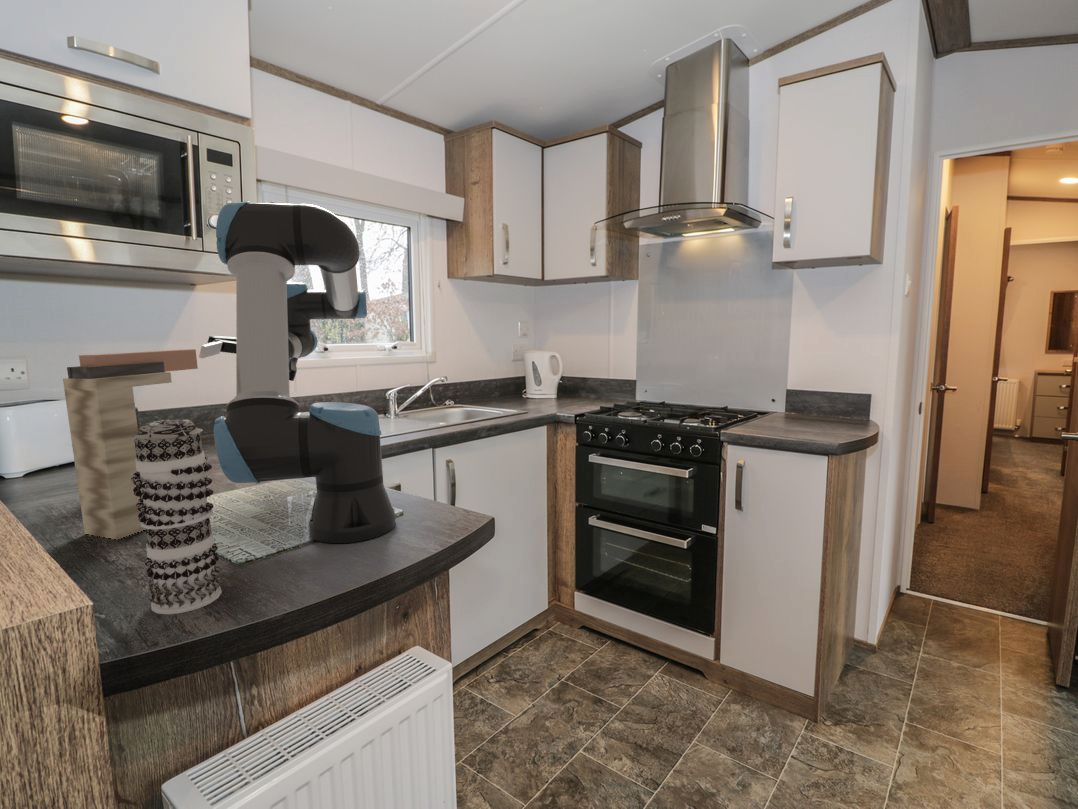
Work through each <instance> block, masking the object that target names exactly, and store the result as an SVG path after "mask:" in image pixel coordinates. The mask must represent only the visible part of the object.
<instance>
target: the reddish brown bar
mask: <svg viewBox="0 0 1078 809" xmlns="http://www.w3.org/2000/svg"><path fill="white" fill-rule="evenodd" d="M78 358H79V366H80V367H99V366H113V365H126V364H140V363H153V362H164V370H165V372H177V371H185V370H186V371H187V370H198V369H199V368H198V360H197V359H198V358H197V350H196V349H194V348H193V349H188V348H187V349H169V350H149V351H132V352H116V353H115V352H114V353H98V354H97V353H96V354H81V355H80V354H79V355H78Z"/></svg>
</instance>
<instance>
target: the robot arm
mask: <svg viewBox="0 0 1078 809" xmlns="http://www.w3.org/2000/svg"><path fill="white" fill-rule="evenodd" d="M215 237H216V250H217V254H218V257H219V260H220V262H221V263H222V264H224V265H226V266H227V270H228V271H229V273H230V274H231V275H232V276H234V277H235V278H236V288H235V289H236V292H235V293H236V302H235V303H236V308H235V310H236V324H235V325H236V326H235V327H236V333H235V334H236V336H224V335H223V336H222V335H209V336H208V340H207V343H205V344H202V345H201V346H200V351H199V355H198V358H200V359H206V358H208V357H213V356H217V355H220V353H228V354H236V367H235V368H236V376H235V377H236V381H235V382H236V387H235V388H236V389H235V390H236V392H235V393H236V395H235V397H233V399H231V400H230V401H229V402H227V404H226V415H221V416H219V417H217V418H216V419H215V420H214V426H213V440H214V447H215V451H216V454H217V460H218V463H219V465H220V468H221V470H222V473H223V474H224V476H225V477H226V478H227V479H228V480H229V481H230V482H232V483H236V484H247V483H248V484H249V483H250V484H251V483H255V484H260V483H263V482H271V481H272V482H273V481H284V480H295V479H296V480H297V479H305V478H315V486H316V493H315V498H314V502H313V505H312V509H311V516H310V518H309V520H308V528H309V529H308V530H309V537H310V538H311V537H312V538H311V539H313V540H314V541H317V542H320V543H326V544H328V543H329V544H350V543H355V542H356V543H357V542H362V541H367V540H371V539H374V538H378V537H380V536H383V535H385V534H387V533H389V532H391V531H392V530H393V529H394V528H395V526H396V513H395V510H394V508H393V506H392V503H391V501H390V498H389V495H388V493H387V490H386V488H385V484H384V475H383V474H384V473H383V472H384V471H383V460H382V457H383V456H382V449H381V448H382V447H381V436H382V430H381V429H380V428H381V426H380V420H379V414H378V412H377V411H376V410H375V409H374V408H373V407H371V406H369V405H365V404H359V403H354V402H352V403H350V402H337V401H327V402H323V401H321V402H319V401H318V402H314V403H312V404H310V405H309V408H308V411H304V412H302V411H301V412H300V405H299V402H297V400H295V399H294V398H292V397H291V395H290V381H291V382H293V381H294V380H295V377H296V374H297V372H298V371H297V370H298V368H297V365H298V364H297V363H298V360H299V359H301V358H305V357H308V356H309V355H310V354H312V353H313V352H314V351H315V350H316V349H317V347H318V337H317V335H316V333H315V332H314V331H313V330H312V329H311V320H357V319H364V318H366V317H367V315H368V310H367V309H368V308H367V306H368V305H367V294H366V291H364V290H362V289H358V288H359V287H358V286H359V285H358V276H357V264H358V263H359V259H360V246H359V242H358V239H357V237H356V235H355V233H354V232H353V231H352V229H351V227H349V225H347V224H346V222H344V220H343V219H342V218H340V217H339V216H337V215H336V214H334V213H332V212H331V211H330V210H327V209H326V208H323V207H320V206H319V205H314V204H310V203H308V204H307V203H272V202H270V203H269V202H265V203H264V202H263V203H262V202H253V201H249V200H246V201H245V200H244V201H242V202H241V201H238V202H235V201H234V202H233V201H232V202H228V203H226V204H225V205H223V206H222V207H221V209H220V210H219V213H218V215H217V219H216V227H215ZM296 266H317V267H319V268H320V271H321V276H322V280H323V284H324V288H325V289H324V290H323V289H318V290H317V289H308V285H307V283H305V282H288V281H290V280H291V279H292V278H293V277H294V276H295V273H296Z"/></svg>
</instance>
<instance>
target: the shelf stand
mask: <svg viewBox="0 0 1078 809" xmlns="http://www.w3.org/2000/svg"><path fill="white" fill-rule="evenodd" d="M66 371H67V377H63V378H62V382H63V389H64V390H63V391H64V396H65V402H66V411H67V417H68V418H67V420H68V424H69V432H70V439H71V446H72V452H73V453H72V454H73V461H74V469H75V474H76V481H77V490H78V496H79V503H80V510H81V517H82V523H83V531H84V535H85V534H89V535H88V536H91V535H94V536H93V537H97V536H98V538H103V537H105V538H104V539H108V538H111V539H110V540H114V539H116V541H118V539H119V540H122V539H124V538H123V537H125V538H127V537H130V536H132V535H131V534H133V535H135V534H134V533H136V534H138V533H137V532H139V533H141V531H142V532H144V531H143V530H145V531H146V528H143V527H141V522H140V521H139V517H138V514H139V513H140V512H141V511H139V510H138V507H137V506H136V504H137V502H138V500H139V499H140V497H138V496H135V495H134V491H133V488H134V487H136V485H135V484H134V483H133V481H132V480H131V478H132V477H133V474H134V473H135V472H137V470H136V462H135V459H136V458H137V457H136V450H135V441H134V439H131V437H132V436H134V435H136V434H137V432H138V427H137V419H136V411H135V407H136V405H135V404H136V403H135V396H134V389H133V388H134V387H142V386H143V387H144V386H152V385H161V384H169V383H173V382H172V381H173V380H172V373H171V372H172V371H167V372H165V370H164V362H153V363H140V364H126V365H113V366H99V367H80V365H79V366H69V367H68V366H67V367H66ZM140 480H141V479H140ZM140 490H141V492H142V489H140ZM144 515H145V514H144ZM129 535H130V536H129ZM99 536H100V537H99ZM126 536H127V537H126ZM121 538H122V539H121Z"/></svg>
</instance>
